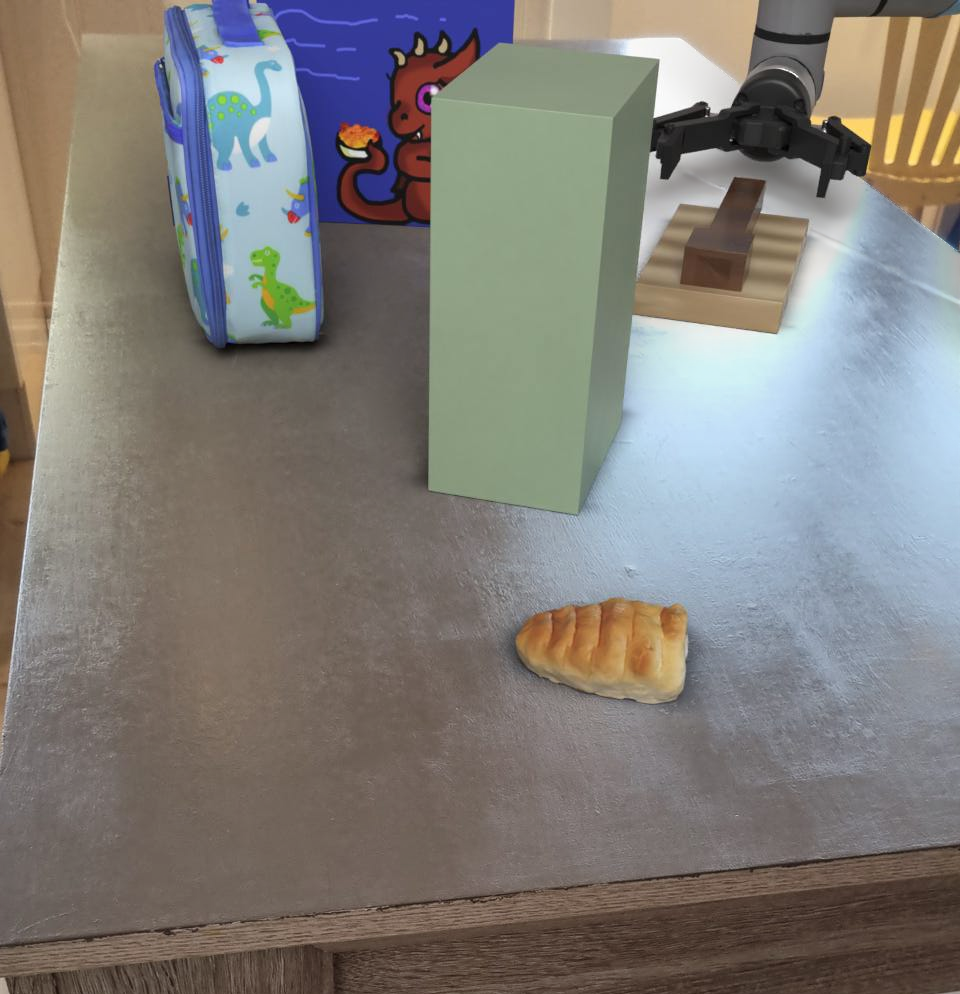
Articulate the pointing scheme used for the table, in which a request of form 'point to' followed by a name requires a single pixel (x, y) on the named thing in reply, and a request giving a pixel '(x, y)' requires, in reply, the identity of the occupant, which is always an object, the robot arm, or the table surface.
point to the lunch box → (240, 174)
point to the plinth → (534, 269)
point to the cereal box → (381, 93)
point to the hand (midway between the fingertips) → (743, 171)
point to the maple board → (745, 310)
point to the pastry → (610, 648)
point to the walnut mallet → (725, 240)
